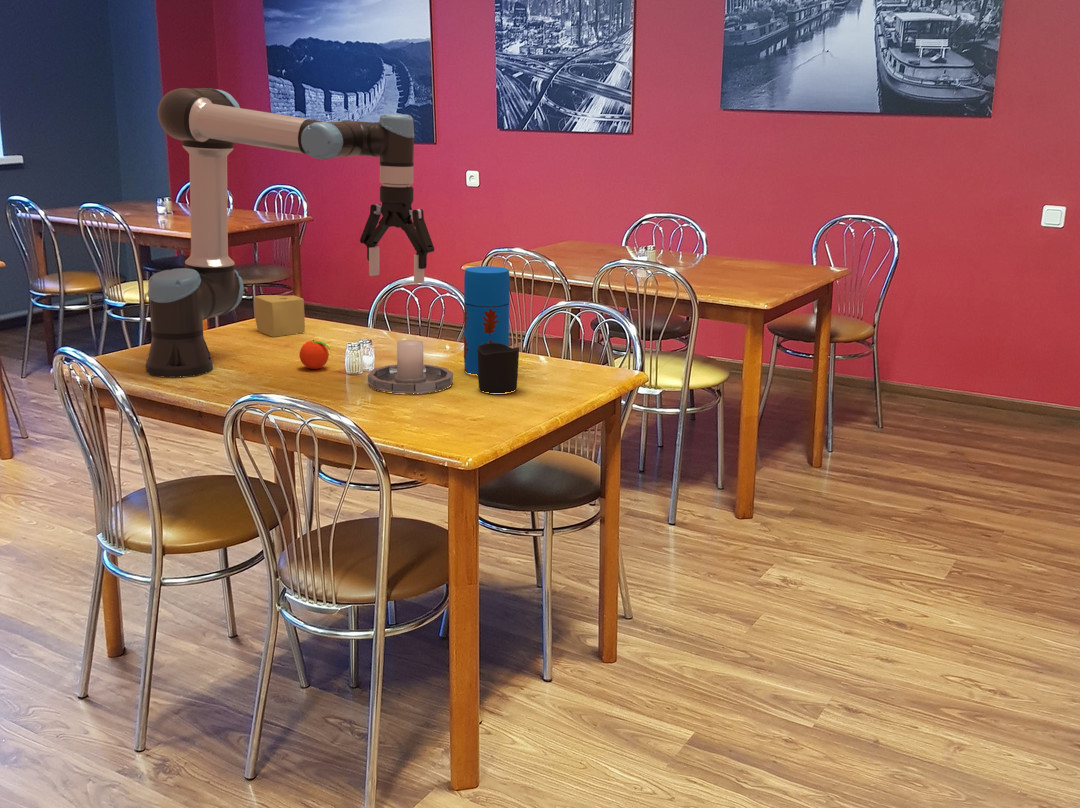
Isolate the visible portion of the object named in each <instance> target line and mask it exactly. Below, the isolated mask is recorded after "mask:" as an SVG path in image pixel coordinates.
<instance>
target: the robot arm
mask: <svg viewBox="0 0 1080 808" xmlns="http://www.w3.org/2000/svg"><path fill="white" fill-rule="evenodd" d="M157 119H158V123H159V125H160V126H161V128H162V129H163V131H164V132H165V133H166V134H167V135H168V136H170V137H171V138H173V139H175V140H178V141H182V146H181V147H182V148H183V149H184V150H185V151H186V152H187V153H188V154H189V159H188V160H189V195H190V196H189V200H190V201H189V202H190V204H189V206H190V252H191V253H190V256H188V258H187V259H185V261H184V267H183V268H182V267H181V268H173V269H166V270H161V271H158V272H156V273H154V274H152V275H151V276H150V278H149V280H148V286H147V289H148V290H147V297H148V308H149V317H150V318H149V319H150V330H151V331H150V333H151V343H150V346H149V350H148V354H147V359H146V362H145V367H146V368H145V369H146V373H147V374H149V375H151V376H153V375H154V376H153V377H159V376H164V377H163V378H184V377H183V376H188V377H194V376H193V375H195V376H199V374H200V375H204V374H207V373H209V371H210V372H211V371H213V369H214V363H213V362H214V361H213V357H212V356H211V352H210V350H209V347H208V345H207V342H206V340H205V337H204V322H203V321H205V320H209V319H211V318H216V317H220V316H223V315H226V314H228V313H229V312H231V311H233V310H234V309H236V308H237V307H238V306H239V304H241V302H242V299H243V296H244V291H245V286H244V282H243V278H242V277H241V276H240V275H239V272H238V271H237V270H236V269H235V268H236V267H235V266H236V265H235V261H234V260H233V259H232V258H231V257H230V256H229V238H228V237H229V236H228V235H229V233H228V232H229V221H228V220H229V219H228V215H229V214H228V213H229V212H228V208H229V207H228V206H229V205H228V204H229V203H228V156H229V155H230V153H232V151H233V150H234V144H235V143H236V144H241V145H242V144H243V145H248V146H254V147H260V148H264V149H265V148H266V149H272V150H273V149H274V150H277V151H278V150H279V151H283V152H284V151H285V152H290V153H298V154H303V155H308V156H309V157H311V158H314V159H316V160H317V159H319V160H330V159H336V158H343V157H344V158H346V157H357V156H358V157H360V156H361V157H374V158H375V157H376V158H379V183H380V184H382V185H381V186H379V201H380V202H381V204H380V203H376V204H371V205H370V209H369V215H368V218H367V220H366V223H365V226H364V229H363V231H362V234H361V236H360V238H359V242H360V243H361V244H364V245H365V246H366V255H367V256H366V259H367V261H368V276H369V277H374V276H379V275H380V246H379V244H378V243H379V242H380V241H381V239H382V238H383V236H384V235H385V233H386V232H387V230H388V229H389V228H390V227H391V228H392V227H395V228H398V229H399V228H400V229H401V230H402V231H403V232H404V233H405V235H406V236H407V238H408V240H409V241H410V244H411V245H412V247H413V248H414V250H415V254H413V284H421V283H425V269H427V263H428V262H427V261H428V259H427V257H428V256H427V255H428V254H431V253H433V252H435V247H434V244H433V241H432V239H431V235H430V232H429V230H428V226H427V223H426V221H425V217H424V216H425V215H424V209H423V208H418V209H417V208H416V209H413V208H412V204H413V203H414V187H413V186H412V185H413V184H414V168H415V167H414V156H415V155H414V154H415V153H414V152H415V150H414V149H415V148H414V147H415V137H416V136H415V128H414V118H413V117H412V115H410V114H402V113H401V114H400V113H382V114H380V116H379V121H377V122H370V121H358V120H357V121H356V120H349V119H342V120H334V121H324V120H319V119H318V120H317V119H312V118H304V117H297V116H291V115H286V114H280V113H273V112H268V111H267V112H266V111H261V110H260V111H259V110H255V109H250V108H249V109H248V108H241V107H240V104H239V102H238V100H236V99H235V98H234V97H233V96H232V95H231V94H230V93H229V92H227V91H224V90H223V89H216V88H211V87H209V88H208V87H207V88H206V87H205V88H203V87H202V88H201V87H200V88H186V87H182V88H181V87H179V88H176V89H173V90H170V91H169V92H167V93H165V95H163V97H162V98H161V99H160V102H159V104H158V106H157ZM381 215H382V217H381ZM206 372H207V373H206ZM180 376H181V377H180Z"/></svg>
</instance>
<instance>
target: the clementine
mask: <svg viewBox="0 0 1080 808" xmlns="http://www.w3.org/2000/svg"><path fill="white" fill-rule="evenodd" d="M329 352H330V353H332V352H331V349H330V347H329V345H327V344H326V343H325V342H323V341H320V340H319V341H318V340H314V339H312V340H309V341H306V342H305V343H304V344H303V345H301V347H300V350H299V360H300V362H301V364H302V365H303V367H306V368H307V369H310V370H318V369H321V368H322V367H324V366H325V365H326V364H327V362H328V360H329V356H330V355H329Z"/></svg>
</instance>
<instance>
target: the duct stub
mask: <svg viewBox="0 0 1080 808" xmlns="http://www.w3.org/2000/svg"><path fill="white" fill-rule="evenodd" d="M423 364H424V341H423V340H418V339H402V340H398V341H396V365H397V374H395V382H396V383H422V382H426V375H425V374H424V373H423Z"/></svg>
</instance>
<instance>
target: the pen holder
mask: <svg viewBox="0 0 1080 808" xmlns="http://www.w3.org/2000/svg"><path fill="white" fill-rule="evenodd" d="M477 350H478V377H477V378H478V379H477V380H478V389H480V390H481V391H484V392H489V393H505V392H511V391H514V390H516V391H517V389H518V387H517V386H518V378H519V377H518V375H519V355H520V347H518V346H517V347H514V348H512V347H510V346H509V347H508V346H506V345H504V344H500V343H488V344H482V345H479V346H478V347H477ZM480 390H479V391H480ZM481 391H480V392H481Z"/></svg>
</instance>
